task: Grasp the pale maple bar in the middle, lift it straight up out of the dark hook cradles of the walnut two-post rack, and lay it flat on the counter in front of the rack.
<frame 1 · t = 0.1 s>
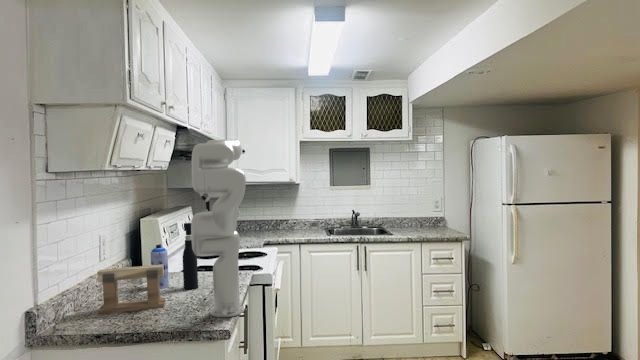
hand: (220, 210, 192), 37 cm above the worktop, tool pointing down, fingers open, 9 cm apart
maple bar: (131, 277, 180), point 12 cm above the worktop, touching walnut rack
black tall bottle: (191, 288, 207), on the worktop
walnut rack: (133, 307, 180), on the worktop
aerosol can: (160, 287, 211), on the worktop
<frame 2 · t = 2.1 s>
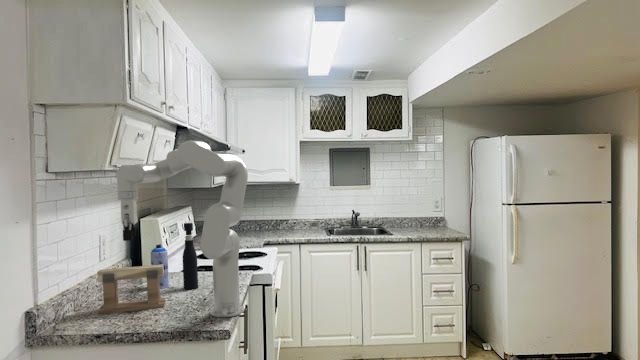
hand: (129, 238, 179), 28 cm above the worktop, tool pointing down, fingers open, 9 cm apart
nothing on the worktop moved.
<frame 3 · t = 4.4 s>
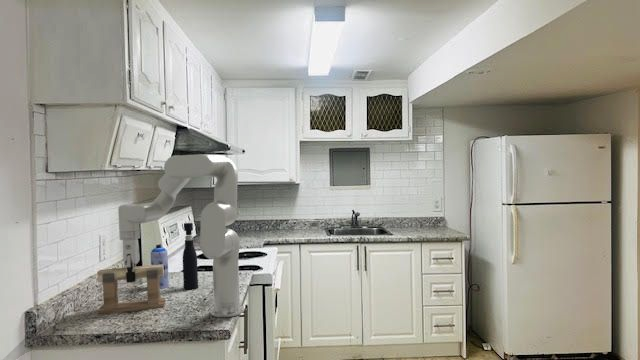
hand: (131, 280, 180), 11 cm above the worktop, tool pointing down, fingers closed on maple bar, 4 cm apart
maple bar: (131, 277, 180), point 12 cm above the worktop, touching gripper, walnut rack
everything else where it was.
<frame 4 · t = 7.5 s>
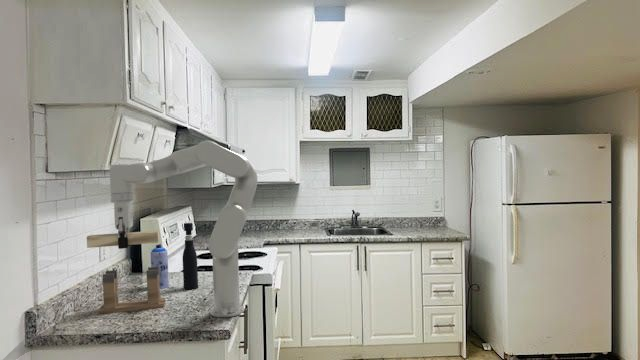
hand: (124, 246, 166), 27 cm above the worktop, tool pointing down, fingers closed on maple bar, 4 cm apart
maple bar: (124, 244, 166), point 28 cm above the worktop, touching gripper
everything else where it was.
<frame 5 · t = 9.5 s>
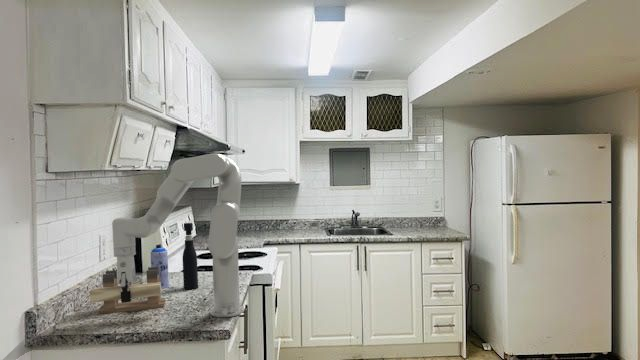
hand: (127, 299, 166), 7 cm above the worktop, tool pointing down, fingers closed on maple bar, 4 cm apart
maple bar: (126, 297, 166), point 8 cm above the worktop, touching gripper
everything else where it was.
when the fingers open (1 cm above the worktop, at t = 11.1 s): maple bar drops 2 cm, on the worktop.
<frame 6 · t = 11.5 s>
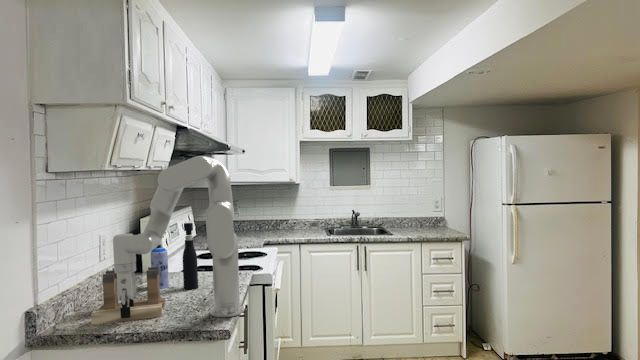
hand: (127, 314, 167), 2 cm above the worktop, tool pointing down, fingers open, 8 cm apart
maple bar: (128, 319, 167), on the worktop
everything else where it was.
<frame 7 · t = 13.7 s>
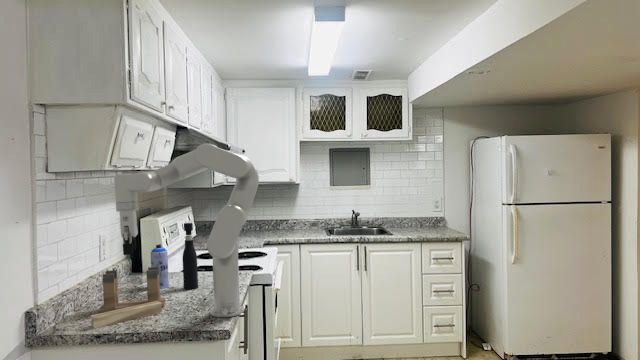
hand: (129, 252, 168), 24 cm above the worktop, tool pointing down, fingers open, 9 cm apart
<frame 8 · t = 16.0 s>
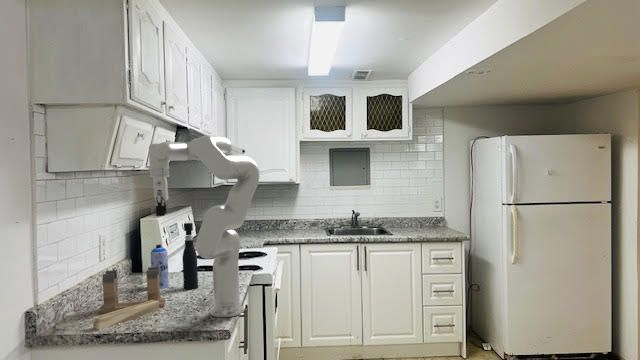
hand: (161, 214, 186), 36 cm above the worktop, tool pointing down, fingers open, 9 cm apart
at the end: maple bar inside the target area (0.5 cm from its centre), on the worktop; maple bar tilted 0°; the gripper is holding nothing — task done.
